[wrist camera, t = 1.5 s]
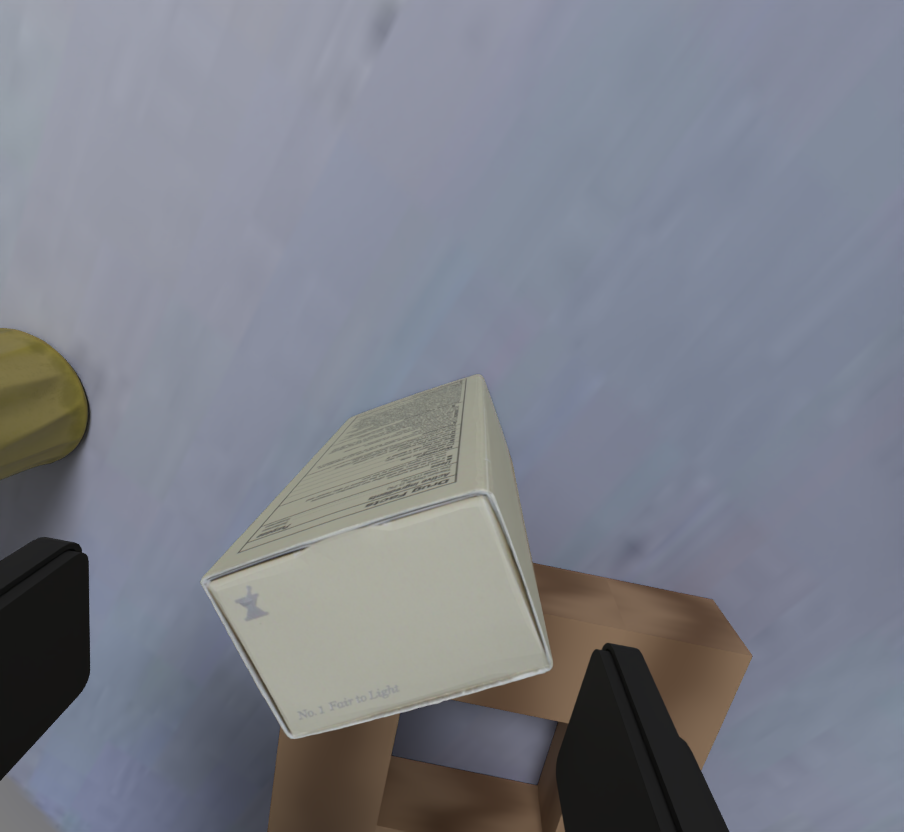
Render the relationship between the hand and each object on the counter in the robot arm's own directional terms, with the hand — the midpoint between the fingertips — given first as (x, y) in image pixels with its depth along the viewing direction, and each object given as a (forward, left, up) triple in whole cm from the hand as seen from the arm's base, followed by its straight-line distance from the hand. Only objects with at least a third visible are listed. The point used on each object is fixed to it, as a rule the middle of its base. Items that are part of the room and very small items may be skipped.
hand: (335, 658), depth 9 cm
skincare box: (-1, 0, -13) cm, 13 cm away
